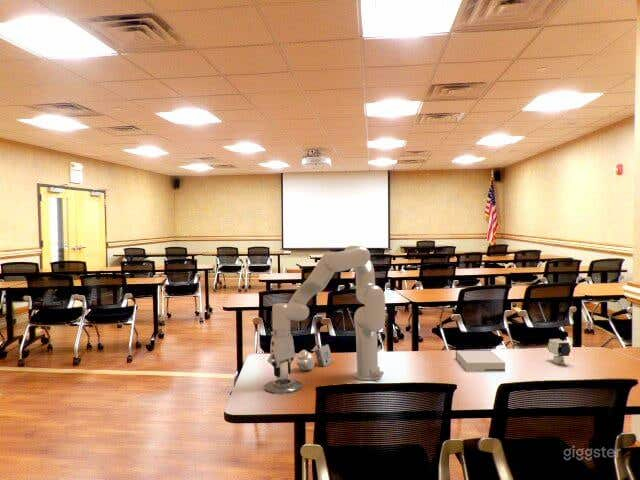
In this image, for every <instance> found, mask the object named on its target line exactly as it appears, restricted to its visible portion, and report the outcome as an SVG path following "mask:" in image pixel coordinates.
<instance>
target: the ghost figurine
mask: <svg viewBox="0 0 640 480" xmlns="http://www.w3.org/2000/svg"><path fill="white" fill-rule="evenodd" d="M315 364H316V357H315V356H314V354H313V353H311V352H309V351H307V350H306V349H302V350H301V351H299V352H298V354H297V358H296V365H297V367H298V368H299V369H300V370H302V371H304V370H308V371H310V370H312V369H313V368H314V367H315Z"/></svg>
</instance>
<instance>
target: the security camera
mask: <svg viewBox="0 0 640 480" xmlns="http://www.w3.org/2000/svg"><path fill="white" fill-rule="evenodd" d="M547 350H548V352H549V353H551V354H554V355H553V363H554V364H557V365H565V357H570V353H571V347H570V343H569V342H567V341H565V340H562V339H560V338H559V337H558V338H549V339H548V342H547Z"/></svg>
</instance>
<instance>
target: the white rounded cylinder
mask: <svg viewBox="0 0 640 480" xmlns="http://www.w3.org/2000/svg"><path fill="white" fill-rule="evenodd" d="M276 362H277V361H276ZM279 368H280V377H276V380H277V379H279V380H284V379H289V374H288V361H287V360H283V361H280V363H279Z"/></svg>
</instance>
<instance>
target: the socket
mask: <svg viewBox="0 0 640 480" xmlns="http://www.w3.org/2000/svg"><path fill="white" fill-rule="evenodd" d="M263 387H264V388H265V389H264V390H266V391H265V392H267V391H269V392H272V393H271V394H274V393H287V394H292V393H291V392H293V393H295V392H298V391H300V390H301V389H302V388H303V385H302V382H301V381H299V380H296V379H291V378H287V379H284V380H279V379H277V378H276V379H273V380H271V381H268V382H267V383H265V384H264V386H263ZM269 392H268V393H269Z"/></svg>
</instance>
